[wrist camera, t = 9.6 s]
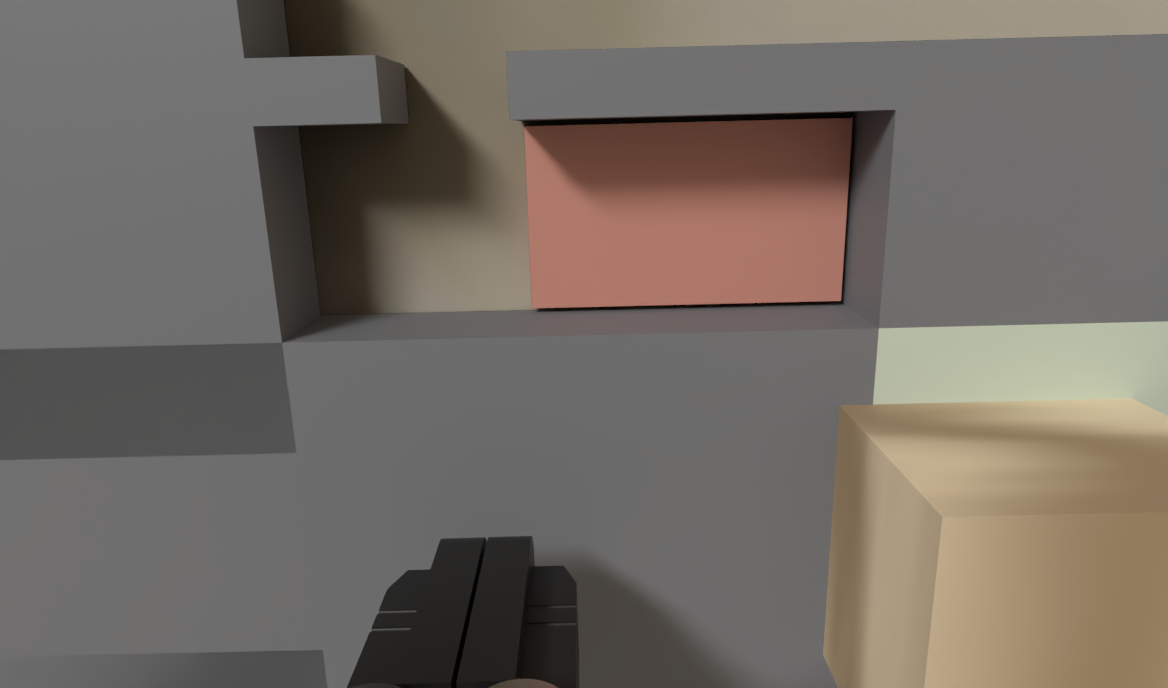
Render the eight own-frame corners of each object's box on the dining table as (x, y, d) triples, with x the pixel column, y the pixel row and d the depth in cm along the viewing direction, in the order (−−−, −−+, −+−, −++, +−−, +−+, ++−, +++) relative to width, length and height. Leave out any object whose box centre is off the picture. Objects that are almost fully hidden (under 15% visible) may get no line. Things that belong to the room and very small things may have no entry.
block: (823, 655, 15) (908, 841, 11) (839, 405, 13) (942, 517, 10) (1088, 649, 15) (1268, 834, 11) (1131, 398, 13) (1353, 508, 10)
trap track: (125, 919, 19) (27, 1089, 16) (-111, -79, 13) (-348, -149, 10) (1070, 901, 19) (1175, 1068, 16) (1256, -116, 13) (1489, -200, 10)
